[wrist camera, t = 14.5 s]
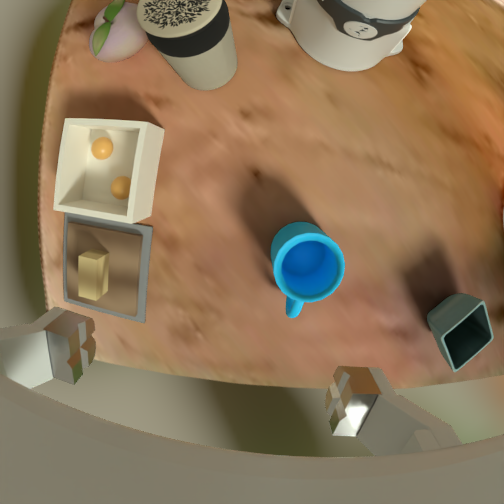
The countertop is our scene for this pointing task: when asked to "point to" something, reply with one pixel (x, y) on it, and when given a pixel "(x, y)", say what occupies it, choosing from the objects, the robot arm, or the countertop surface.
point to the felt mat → (144, 265)
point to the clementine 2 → (121, 187)
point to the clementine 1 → (102, 148)
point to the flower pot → (460, 328)
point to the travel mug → (192, 39)
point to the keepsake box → (107, 168)
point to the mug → (305, 264)
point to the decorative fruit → (117, 33)
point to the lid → (103, 267)
